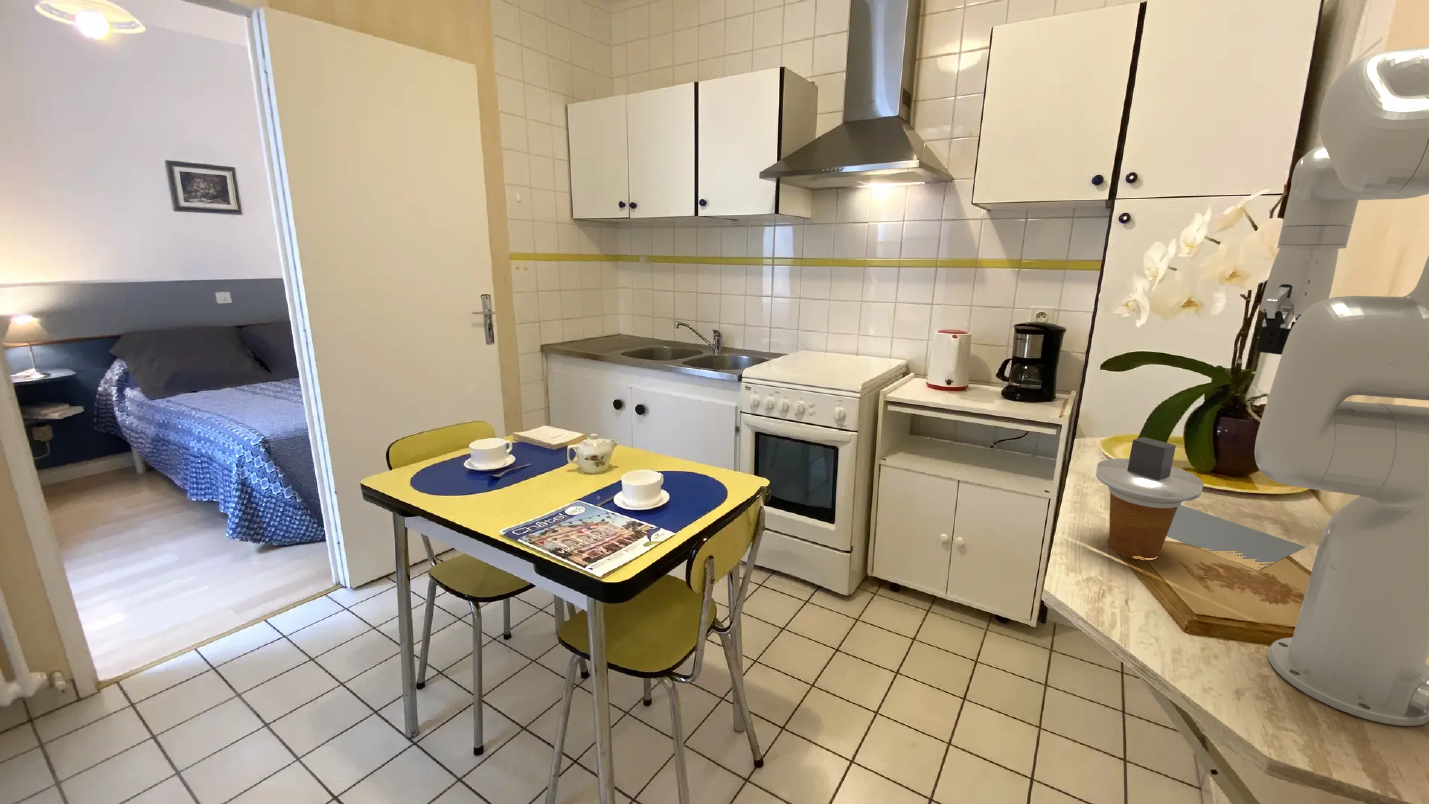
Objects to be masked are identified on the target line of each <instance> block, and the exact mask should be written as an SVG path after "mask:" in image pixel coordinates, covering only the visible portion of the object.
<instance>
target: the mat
mask: <svg viewBox="0 0 1429 804" xmlns="http://www.w3.org/2000/svg"><path fill="white" fill-rule="evenodd" d="M1166 538H1170V539H1173V540H1176V541H1178V542H1180V543H1183V544H1185V545H1188V546H1191V545H1192V547H1194V546H1198V547H1199V546H1200V547H1199V548H1205V549H1206V548H1208V549H1211V550H1208V551H1237V552H1235V553H1243V555H1242V554H1240V556H1246V557H1243V559H1256V560H1255V562H1261V563H1262V562H1276V563H1277V562H1279V561H1282V560H1283V559H1285V558H1286V557H1289V556H1291V555H1293V554H1295V553H1297V552H1298V551H1300V550H1302V549H1304V548H1306V546H1305V545H1302V544H1300V543H1296V542H1293V541H1290V540H1287V539H1284V538H1282V537H1281V538H1280V537H1278V536H1275V535H1272V534H1269V533H1265V532H1263V531H1260V530H1256V529H1254V528H1251V527H1248V526H1245V525H1243V524H1240V523H1236V522H1233V521H1230V520H1227V519H1225V518H1222V517H1218V516H1215V515H1213V514H1210V513H1206V512H1203V511H1200V510H1197V509H1194V508H1191V507H1188V506H1185V505H1184V504H1183V505H1182V504H1180V505H1179V506H1178V508H1177V511H1176V513H1175V516H1174V518H1173V521H1172V523H1171V526H1170V528H1169V531H1168V533H1167V536H1166ZM1193 545H1194V546H1193ZM1199 548H1198V549H1199ZM1204 552H1207V550H1205V551H1204ZM1217 553H1218V552H1217ZM1227 553H1228V552H1227ZM1229 553H1231V552H1229ZM1232 553H1233V552H1232ZM1235 556H1236V555H1235ZM1237 556H1239V554H1238V555H1237ZM1241 558H1242V557H1241ZM1257 559H1258V560H1257ZM1271 564H1272V565H1274V564H1273V563H1269V564H1268V563H1266V564H1259V565H1270V566H1272V565H1271ZM1264 567H1265V566H1264ZM1258 568H1259V567H1258ZM1261 568H1262V567H1261Z"/></svg>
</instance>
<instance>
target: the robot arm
mask: <svg viewBox="0 0 1429 804" xmlns="http://www.w3.org/2000/svg"><path fill="white" fill-rule="evenodd" d="M1318 127H1319V134H1320V138H1321V141H1322V144H1323V145H1320V146H1317V147H1314V148H1312V149H1311V150H1309V151H1308V152H1307V153H1306V154H1305V155H1303V156H1302V157H1301V158H1300V159H1299V160H1298V161H1297V163H1296V164H1295V166H1294V169H1293V173H1292V176H1291V184H1290V185H1291V186H1290V191H1289V194H1288V198H1287V203H1286V208H1285V212H1284V216H1283V220H1282V224H1281V227H1280V228H1281V229H1280V234H1279V238H1278V242H1277V246H1276V249H1278V252H1277V253H1276V256H1275V258H1274V260H1273V262H1272V266H1271V269H1270V272H1269V275H1268V279H1267V282H1266V285H1265V288H1264V291H1263V295H1262V299H1261V303H1260V308H1259V309H1260V310H1261V312H1262V313H1263V318H1264V319H1263V320H1262V328H1261V332H1260V338H1259V341H1258V345H1257V349H1256V351H1257V352H1258V353H1264V354H1271V355H1272V354H1273V355H1278V356H1279V355H1280V359H1279V362H1278V365H1277V369H1276V372H1275V375H1274V378H1273V381H1272V384H1271V388H1270V390H1269V394H1268V397H1267V401H1266V403H1265V405H1264V409H1263V413H1262V416H1261V420H1260V423H1259V425H1258V430H1257V434H1256V438H1255V443H1254V444H1255V446H1254V459H1255V463H1256V466H1257V468H1258V470H1259V471H1260V472H1261V473H1262V475H1264V476H1265V477H1267V478H1268V479H1269V480H1271V481H1273V482H1276V483H1278V484H1282V485H1286V486H1292V487H1296V488H1297V487H1298V488H1304V489H1309V490H1310V489H1311V490H1316V491H1317V490H1318V491H1322V492H1323V491H1325V492H1331V493H1336V494H1337V493H1338V494H1345V495H1352V496H1358V497H1357V498H1355V499H1353V500H1351V501H1350V502H1348V503H1347V504H1345V505H1344V506H1342V507H1341V508H1340V509H1339V510H1338V511H1336V512H1335V513H1334V515H1332V516H1331V517H1330V519H1328V521H1327V522H1326V524H1325V527H1324V528H1323V531H1322V534H1321V539H1320V541H1319V545H1318V548H1317V551H1316V555H1315V557H1314V561H1313V566H1312V569H1311V573H1310V575H1309V579H1308V582H1307V586H1306V589H1305V592H1304V596H1303V601H1302V604H1301V607H1300V610H1299V614H1298V617H1297V620H1296V624H1295V627H1294V628H1295V629H1294V631H1293V635H1292V636H1291V637H1283V638H1280V639H1277V640H1274V642H1272V643H1271V644H1270V647H1269V649H1268V650H1269V651H1268V653H1267V654H1268V660H1269V663H1270V664H1271V666H1272V667H1273V669H1274V670H1275V672H1277V673H1278V674H1279V675H1280V676H1281V677H1282V678H1283V679H1284V680H1285V681H1287V682H1288V683H1290V684H1291V685H1292V686H1293V687H1295V688H1296V689H1298V690H1300V691H1301V692H1303V693H1304V694H1306V695H1308V696H1310V697H1311V698H1313V699H1315V700H1317V701H1319V702H1321V703H1323V704H1326V705H1328V706H1330V707H1332V708H1334V709H1335V710H1336V709H1337V710H1338V711H1341V712H1343V713H1344V712H1345V713H1347V714H1349V715H1352V716H1355V717H1359V718H1362V719H1365V720H1368V721H1372V722H1376V723H1381V724H1384V725H1385V724H1386V725H1393V726H1403V727H1404V726H1407V727H1413V726H1419V725H1420V726H1421V725H1424V724H1426V723H1428V722H1429V665H1428V664H1426V662H1427V659H1428V656H1429V407H1427V406H1418V405H1417V406H1416V405H1405V404H1404V405H1403V404H1391V403H1380V402H1379V403H1377V402H1376V403H1375V402H1374V403H1373V402H1364V401H1363V402H1362V401H1351V400H1346V399H1348V398H1350V397H1352V396H1366V397H1377V398H1378V397H1379V398H1389V399H1390V398H1392V399H1393V398H1394V399H1404V400H1418V401H1429V255H1428V257H1427V259H1426V261H1425V264H1424V266H1423V270H1422V273H1421V274H1420V277H1419V279H1418V282H1417V284H1416V286H1415V287H1414V288H1413V290H1412V291H1411V292H1410V293H1408V294H1407V295H1403V296H1377V295H1376V296H1375V295H1373V296H1371V295H1369V296H1368V295H1346V296H1336V297H1330V294H1331V291H1332V287H1333V283H1334V279H1335V278H1334V277H1335V272H1336V269H1337V262H1338V256H1339V249H1347V245H1348V241H1349V238H1350V234H1351V231H1352V225H1353V223H1354V219H1355V214H1356V211H1357V207H1358V203H1359V201H1371V200H1375V201H1376V200H1405V199H1406V200H1407V199H1412V198H1419V197H1422V196H1425V195H1426V196H1427V195H1428V194H1429V45H1425V46H1417V47H1409V48H1400V49H1393V50H1383V51H1379V52H1376V53H1373V54H1369V55H1366V56H1364V57H1362V58H1360V59H1357V61H1355V62H1353V63H1352V64H1350V65H1349V66H1348V67H1347V68H1345V69H1344V70H1343V71H1342V72H1341V73H1340V74H1339V75H1338V76H1337V78H1336V79H1335V80H1334V82H1333V83H1332V84H1331V86H1330V87H1329V89H1328V90H1327V92H1326V94H1325V97H1324V99H1323V101H1322V105H1321V108H1320V111H1319V118H1318ZM1293 319H1295V321H1292V320H1293ZM1289 326H1290V328H1289Z"/></svg>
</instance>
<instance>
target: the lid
mask: <svg viewBox="0 0 1429 804" xmlns="http://www.w3.org/2000/svg"><path fill="white" fill-rule="evenodd" d="M1176 447H1177V446H1176V444H1172V443H1169V442H1165V441H1161V440H1157V439H1153V438H1150V437H1146V436H1142V437H1138V438H1134V439H1132V444H1131V449H1130V454H1129V458H1121V457H1120V458H1110V459H1109V458H1108V459H1103V460H1101V461H1099V462H1098V463H1097V467H1096V471H1095V477H1096V479H1097V480H1098V481H1100V483H1102V484H1104V485H1105V486H1107V487H1108V486H1109V487H1111V488H1114V489H1116V490H1119V491H1121V492H1125V493H1128V494H1131V495H1135V496H1140V497H1144V498H1149V499H1156V500H1164V501H1183V502H1188V501H1194V500H1196V499H1198V498H1200V497H1201V495H1202V493H1203V488H1204V482H1203V481H1202V479H1201V478H1200V477H1199V476H1197V475H1195V474H1193V473H1192V472H1190V471H1186V470H1184V469H1182V468H1179V467H1176V466H1173V462H1174V457H1175V451H1176ZM1109 487H1108V488H1109Z"/></svg>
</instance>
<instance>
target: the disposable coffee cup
mask: <svg viewBox="0 0 1429 804" xmlns="http://www.w3.org/2000/svg"><path fill="white" fill-rule="evenodd" d="M1107 487H1108V491H1109V531H1108V532H1109V533H1108V546H1109V549H1110V550H1112V551H1113V552H1114V553H1116V554H1118V555H1120V556H1123V557H1124V558H1129V559H1131V557H1133V556H1141V557H1144V558H1155V557H1157V556H1158V557H1159V556H1160V554H1161V551H1162V548H1163V545H1164V544H1165V541H1166V539H1167V533H1168V531H1169V528H1170V526H1171V523H1172V521H1173V518H1174V516H1175V513H1176V511H1177V508H1178V506H1179V505H1182V503H1183V502H1184V501H1164V500H1156V499H1149V498H1144V497H1140V496H1135V495H1131V494H1128V493H1125V492H1121V491H1119V490H1116V489H1114V488H1111V487H1109V486H1107Z"/></svg>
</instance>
